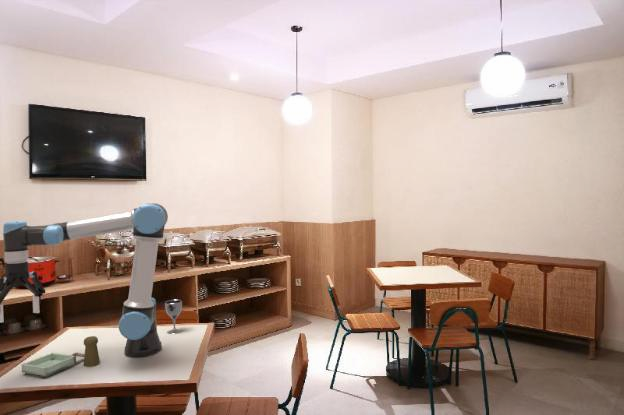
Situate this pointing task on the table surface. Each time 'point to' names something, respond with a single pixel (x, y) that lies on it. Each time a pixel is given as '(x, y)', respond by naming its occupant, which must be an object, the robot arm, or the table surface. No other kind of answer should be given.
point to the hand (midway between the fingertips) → (19, 317)
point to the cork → (91, 352)
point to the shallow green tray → (48, 364)
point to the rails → (60, 370)
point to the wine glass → (173, 312)
